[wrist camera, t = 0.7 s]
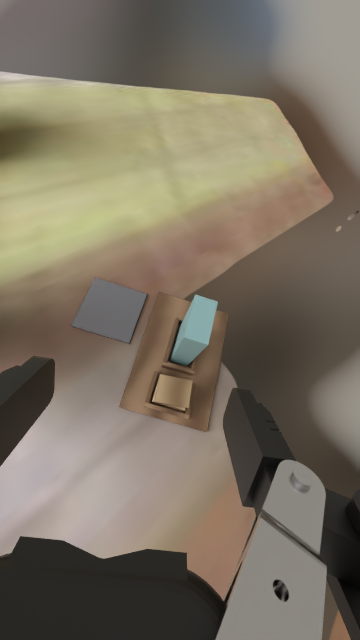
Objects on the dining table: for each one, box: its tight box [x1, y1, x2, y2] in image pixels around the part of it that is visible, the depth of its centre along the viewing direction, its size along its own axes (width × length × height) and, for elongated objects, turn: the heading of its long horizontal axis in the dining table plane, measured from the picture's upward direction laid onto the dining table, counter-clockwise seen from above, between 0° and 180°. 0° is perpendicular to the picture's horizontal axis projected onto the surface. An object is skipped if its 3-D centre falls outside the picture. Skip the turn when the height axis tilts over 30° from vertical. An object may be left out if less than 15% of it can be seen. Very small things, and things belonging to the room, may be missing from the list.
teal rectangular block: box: [170, 295, 218, 366], centre depth 34 cm, size 3×6×13 cm, turn 165°
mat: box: [71, 278, 147, 344], centre depth 41 cm, size 10×10×1 cm
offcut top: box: [154, 374, 192, 408], centre depth 34 cm, size 5×4×2 cm
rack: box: [119, 292, 229, 432], centre depth 39 cm, size 14×21×3 cm, turn 165°
